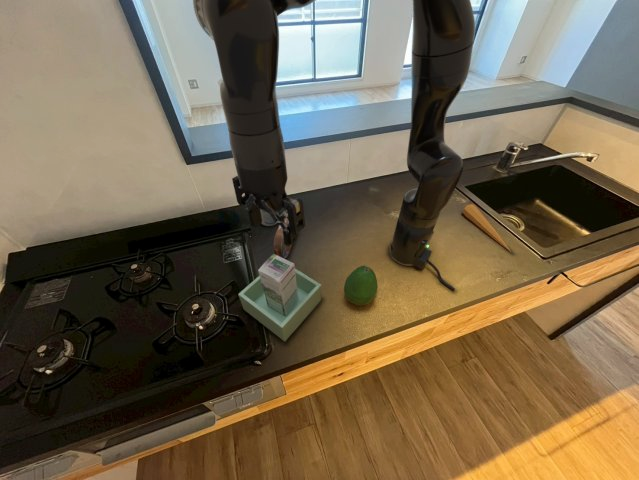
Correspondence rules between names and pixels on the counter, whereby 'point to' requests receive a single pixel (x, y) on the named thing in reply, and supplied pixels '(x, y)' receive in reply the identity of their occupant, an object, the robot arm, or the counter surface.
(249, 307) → the mint storage bin
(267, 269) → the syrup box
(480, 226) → the carrot
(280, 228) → the tin
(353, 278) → the avocado
